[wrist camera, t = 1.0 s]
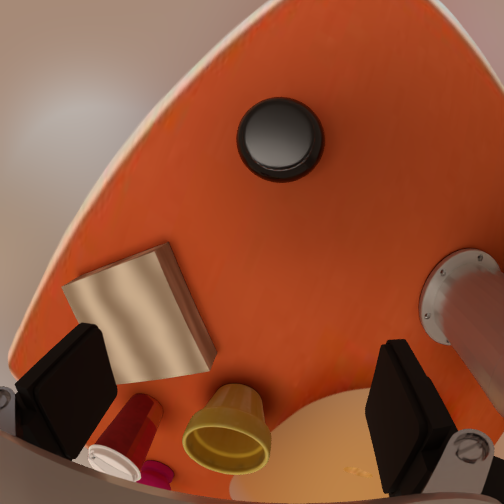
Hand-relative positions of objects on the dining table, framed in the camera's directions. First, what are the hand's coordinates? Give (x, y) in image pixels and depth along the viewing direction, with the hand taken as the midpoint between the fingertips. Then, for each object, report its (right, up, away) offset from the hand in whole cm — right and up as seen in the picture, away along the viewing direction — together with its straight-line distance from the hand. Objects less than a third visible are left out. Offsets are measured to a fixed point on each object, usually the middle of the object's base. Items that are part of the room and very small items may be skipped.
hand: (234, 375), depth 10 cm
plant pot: (-1, -17, +31) cm, 35 cm away
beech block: (-13, -4, +29) cm, 32 cm away
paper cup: (-16, -20, +34) cm, 42 cm away
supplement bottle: (+4, +15, +22) cm, 26 cm away
